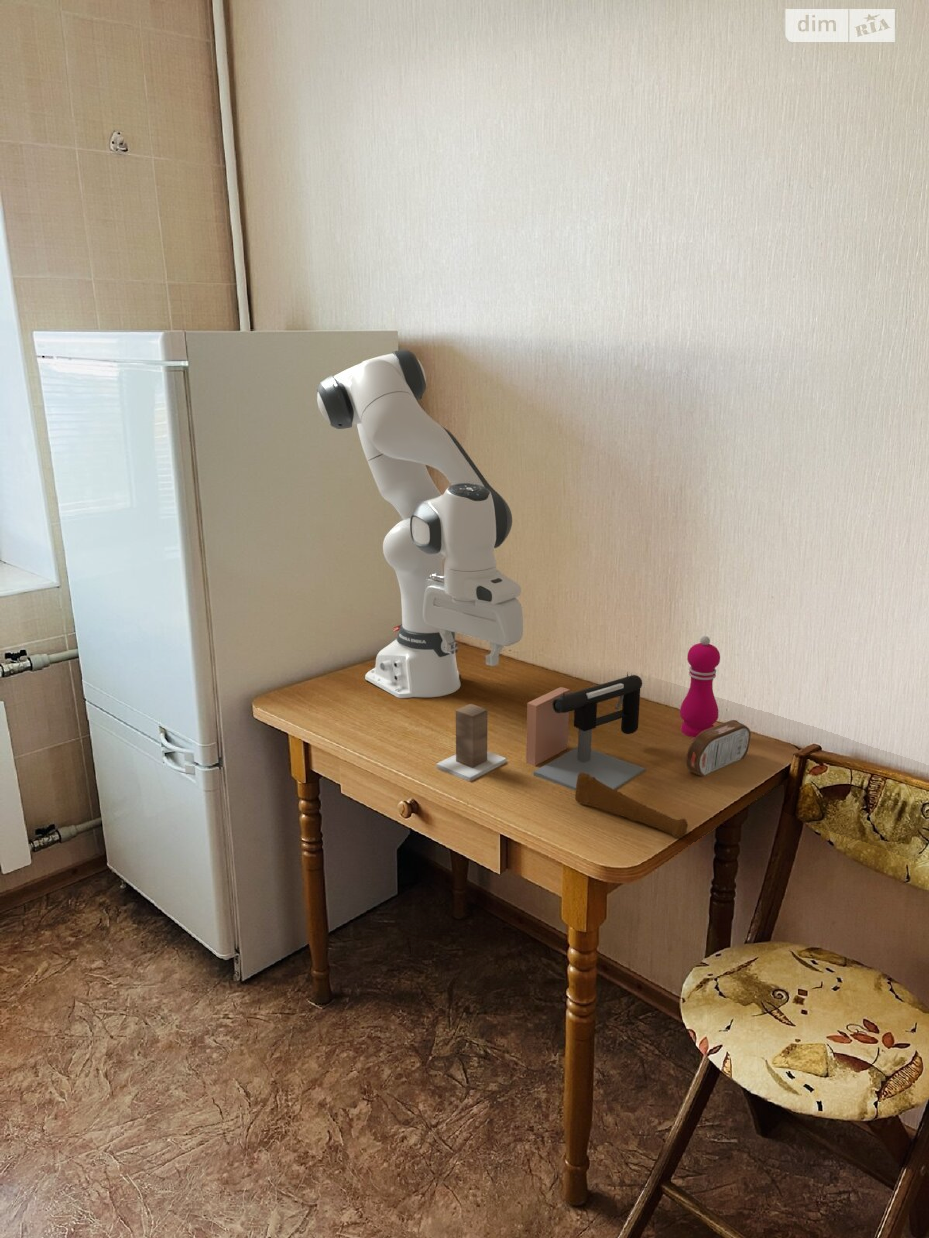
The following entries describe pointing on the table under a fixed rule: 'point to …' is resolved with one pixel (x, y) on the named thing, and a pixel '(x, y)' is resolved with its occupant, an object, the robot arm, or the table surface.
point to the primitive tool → (624, 806)
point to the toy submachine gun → (587, 709)
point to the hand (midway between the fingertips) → (471, 658)
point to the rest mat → (588, 769)
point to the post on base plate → (471, 746)
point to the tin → (718, 747)
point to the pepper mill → (700, 689)
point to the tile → (546, 728)
